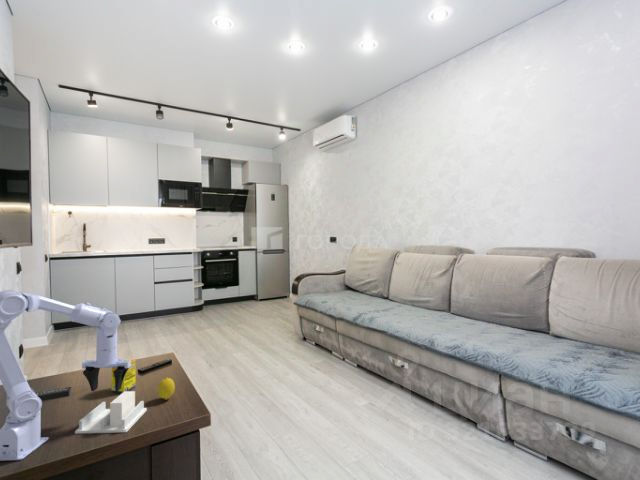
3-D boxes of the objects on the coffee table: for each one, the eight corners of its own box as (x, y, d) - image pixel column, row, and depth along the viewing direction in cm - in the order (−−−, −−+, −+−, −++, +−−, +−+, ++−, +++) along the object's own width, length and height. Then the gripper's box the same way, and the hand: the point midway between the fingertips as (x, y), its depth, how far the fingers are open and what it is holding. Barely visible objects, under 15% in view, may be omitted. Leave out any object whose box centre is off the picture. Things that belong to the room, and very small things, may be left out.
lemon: (154, 401, 119) (154, 379, 119) (168, 394, 123) (168, 373, 124) (164, 404, 116) (164, 382, 116) (178, 398, 121) (178, 376, 121)
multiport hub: (69, 397, 122) (69, 390, 122) (31, 403, 117) (31, 397, 117) (71, 392, 126) (71, 386, 126) (34, 398, 121) (34, 392, 121)
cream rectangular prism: (134, 412, 109) (135, 391, 109) (121, 425, 101) (121, 402, 101) (124, 412, 109) (124, 391, 109) (109, 425, 101) (110, 403, 101)
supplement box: (124, 393, 124) (124, 365, 124) (110, 392, 125) (111, 363, 125) (136, 387, 130) (136, 359, 130) (123, 385, 131) (123, 358, 131)
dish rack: (126, 432, 99) (126, 420, 99) (75, 433, 98) (75, 421, 98) (146, 410, 112) (146, 400, 112) (101, 411, 111) (101, 401, 111)
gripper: (135, 344, 111) (135, 384, 111) (92, 344, 111) (91, 384, 111) (124, 350, 104) (123, 393, 104) (77, 351, 104) (77, 394, 104)
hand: (106, 389), depth 107 cm, fingers open, 7 cm apart
